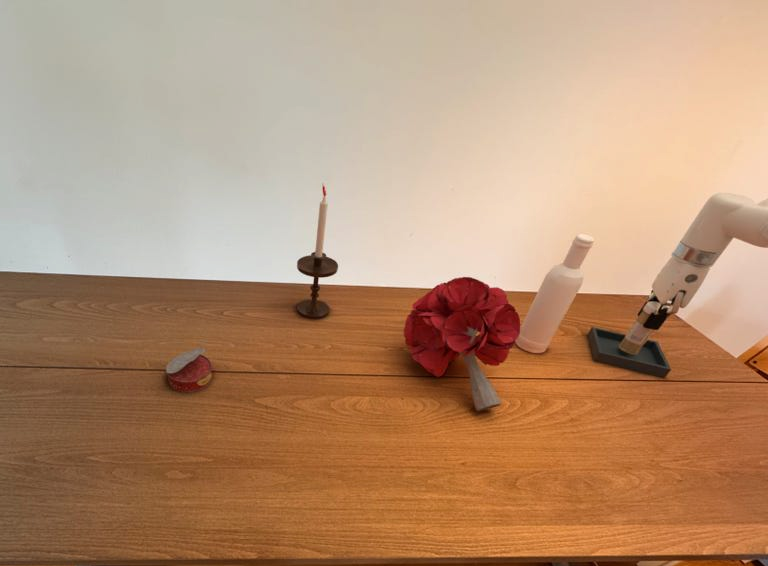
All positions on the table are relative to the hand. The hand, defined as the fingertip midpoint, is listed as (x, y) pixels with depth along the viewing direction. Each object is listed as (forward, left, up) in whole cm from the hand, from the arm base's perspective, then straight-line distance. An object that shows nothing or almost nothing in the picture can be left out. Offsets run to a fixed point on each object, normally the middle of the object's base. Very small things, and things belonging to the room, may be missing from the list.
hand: (647, 321), depth 104 cm
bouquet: (+42, +28, -11) cm, 52 cm away
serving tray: (0, 0, -11) cm, 11 cm away
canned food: (+97, +55, -11) cm, 112 cm away
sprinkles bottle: (0, 0, -9) cm, 9 cm away
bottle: (+23, +6, -11) cm, 26 cm away
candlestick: (+81, +16, -11) cm, 83 cm away
